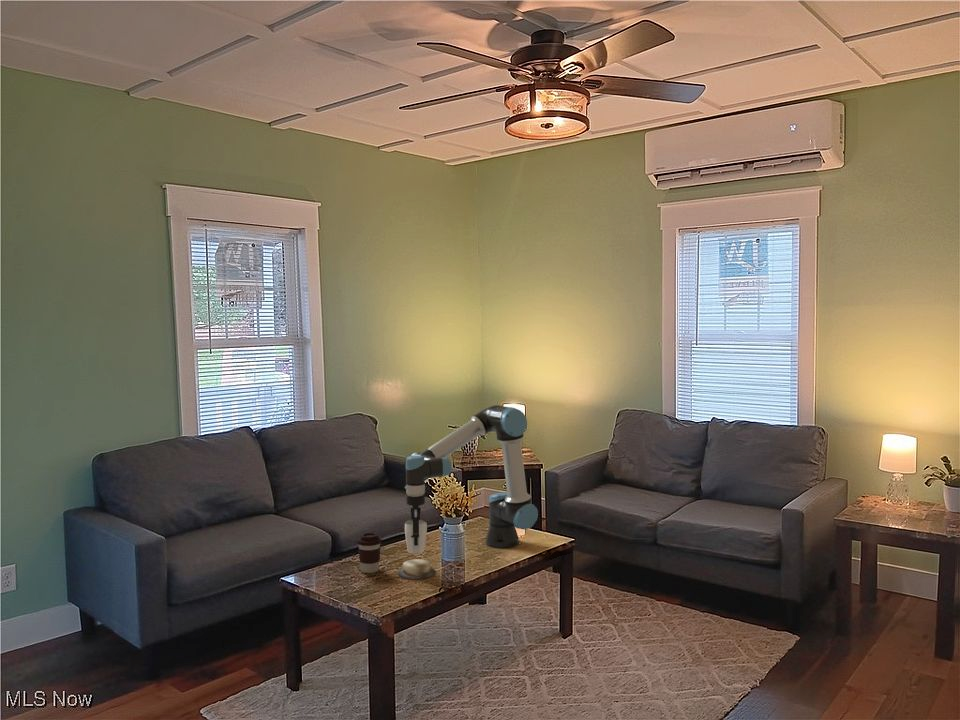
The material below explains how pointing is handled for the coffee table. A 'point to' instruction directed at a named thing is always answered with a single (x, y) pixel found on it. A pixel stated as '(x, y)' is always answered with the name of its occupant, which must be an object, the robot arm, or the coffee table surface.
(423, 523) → the cup
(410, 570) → the pedestal
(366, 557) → the coffee cup
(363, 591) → the coffee table surface
